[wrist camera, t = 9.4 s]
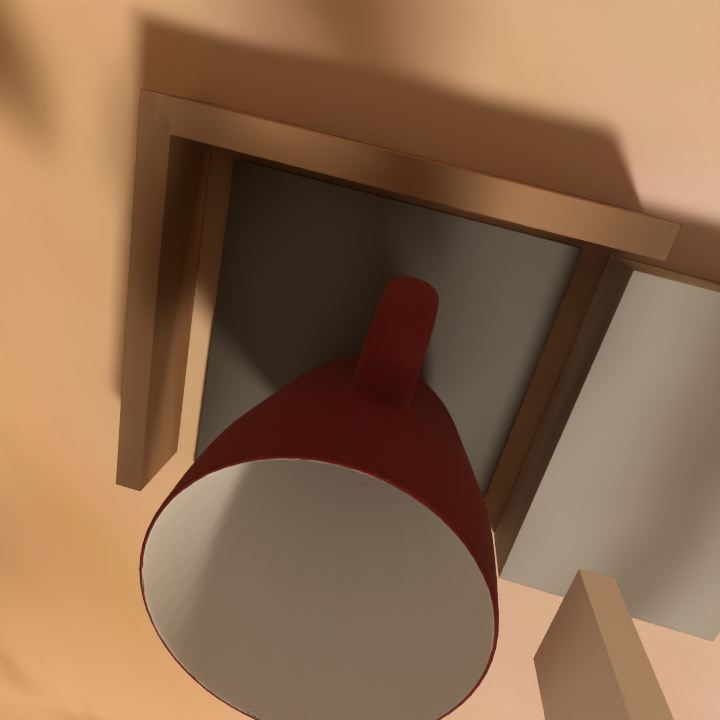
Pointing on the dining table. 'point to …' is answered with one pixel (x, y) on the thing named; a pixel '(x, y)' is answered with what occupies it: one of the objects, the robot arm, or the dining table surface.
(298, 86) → the dining table surface
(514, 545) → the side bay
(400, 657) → the mug
